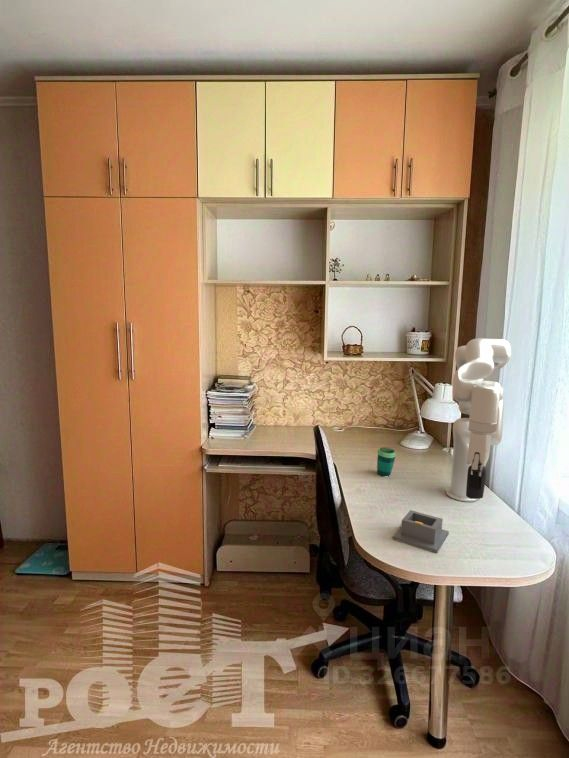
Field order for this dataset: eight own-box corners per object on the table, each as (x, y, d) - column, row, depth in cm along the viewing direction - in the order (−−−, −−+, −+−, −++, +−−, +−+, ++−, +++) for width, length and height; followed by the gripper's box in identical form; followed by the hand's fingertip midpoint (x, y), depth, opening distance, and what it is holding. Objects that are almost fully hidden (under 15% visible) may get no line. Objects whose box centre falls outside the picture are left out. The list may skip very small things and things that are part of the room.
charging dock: (406, 521, 151) (408, 504, 150) (448, 534, 143) (450, 515, 142) (392, 539, 139) (393, 520, 138) (437, 553, 131) (438, 533, 130)
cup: (388, 471, 198) (390, 445, 196) (398, 477, 190) (400, 451, 189) (372, 472, 196) (374, 447, 194) (382, 479, 188) (383, 453, 186)
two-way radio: (479, 494, 134) (483, 448, 132) (488, 500, 130) (493, 453, 127) (463, 495, 133) (467, 449, 131) (471, 502, 129) (476, 454, 126)
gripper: (474, 418, 137) (469, 473, 140) (463, 430, 123) (457, 491, 126) (500, 422, 133) (494, 478, 136) (491, 435, 119) (485, 497, 122)
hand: (476, 483), depth 131 cm, fingers closed on two-way radio, 4 cm apart
